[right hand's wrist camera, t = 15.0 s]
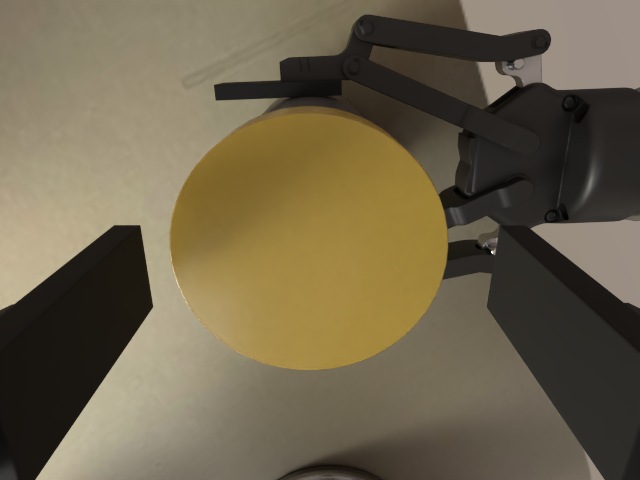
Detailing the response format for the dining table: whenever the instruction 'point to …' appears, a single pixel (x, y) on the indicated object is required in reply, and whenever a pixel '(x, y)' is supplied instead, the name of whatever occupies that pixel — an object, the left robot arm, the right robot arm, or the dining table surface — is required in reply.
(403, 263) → the lid
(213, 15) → the dining table surface
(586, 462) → the dining table surface
